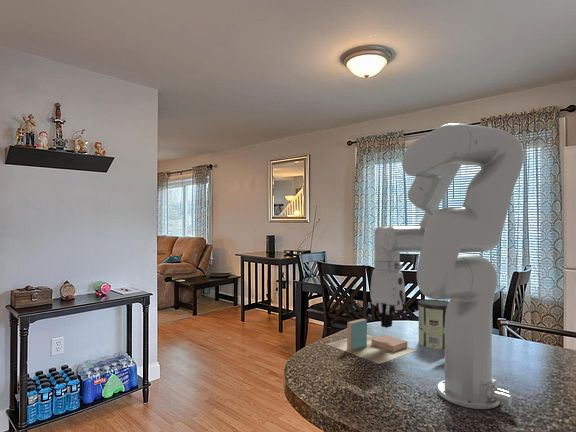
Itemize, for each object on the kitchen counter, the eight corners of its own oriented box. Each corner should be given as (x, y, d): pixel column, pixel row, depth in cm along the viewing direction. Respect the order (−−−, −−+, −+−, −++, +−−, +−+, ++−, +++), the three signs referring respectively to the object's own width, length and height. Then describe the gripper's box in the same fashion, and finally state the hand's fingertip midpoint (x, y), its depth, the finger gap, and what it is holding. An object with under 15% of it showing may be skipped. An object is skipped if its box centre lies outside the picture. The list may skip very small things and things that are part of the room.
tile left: (367, 346, 112) (367, 319, 112) (351, 351, 108) (351, 323, 108) (362, 344, 113) (362, 318, 114) (347, 349, 109) (347, 322, 109)
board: (417, 354, 109) (417, 349, 109) (379, 368, 98) (379, 363, 98) (364, 337, 125) (364, 333, 125) (326, 347, 114) (326, 344, 114)
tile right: (385, 340, 118) (407, 347, 111) (371, 345, 113) (393, 352, 107) (385, 335, 118) (407, 341, 111) (371, 339, 113) (393, 346, 107)
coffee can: (445, 342, 120) (445, 299, 121) (459, 353, 110) (459, 306, 110) (413, 341, 121) (413, 298, 121) (424, 352, 110) (424, 305, 111)
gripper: (415, 268, 110) (415, 330, 110) (375, 263, 122) (374, 319, 121) (400, 270, 105) (400, 334, 105) (360, 265, 117) (359, 323, 117)
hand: (386, 326), depth 113 cm, fingers closed
